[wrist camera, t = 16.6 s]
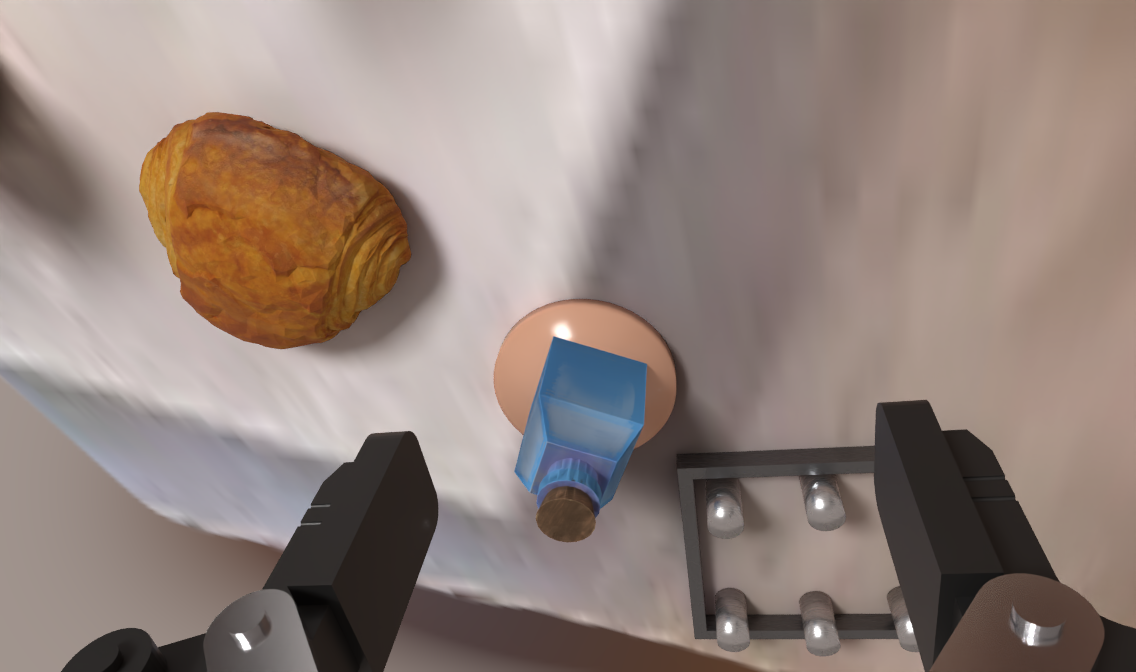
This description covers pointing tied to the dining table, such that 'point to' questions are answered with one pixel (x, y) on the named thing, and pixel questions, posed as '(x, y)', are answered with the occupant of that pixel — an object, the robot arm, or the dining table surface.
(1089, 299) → the dining table surface
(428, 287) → the dining table surface
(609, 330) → the peach round disc
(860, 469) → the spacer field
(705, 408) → the dining table surface
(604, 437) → the perfume bottle
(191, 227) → the croissant
